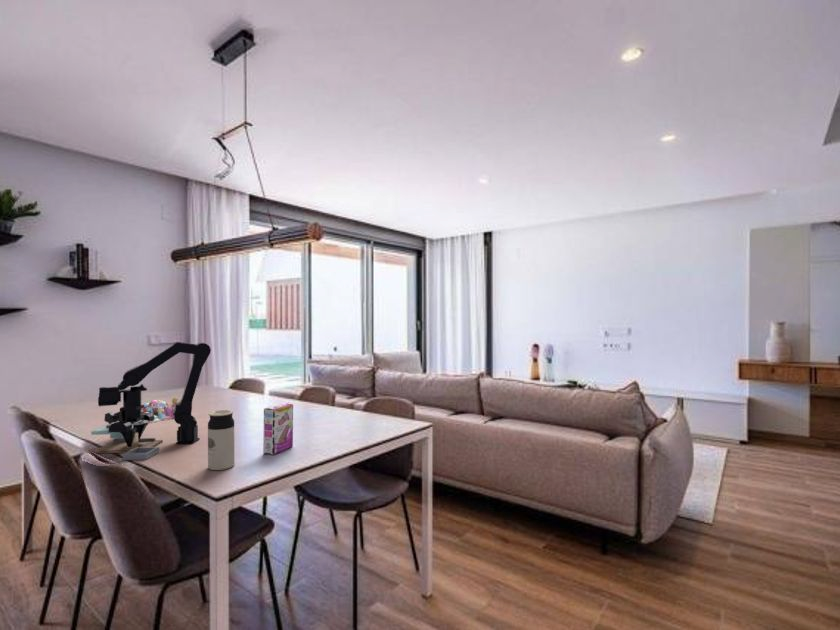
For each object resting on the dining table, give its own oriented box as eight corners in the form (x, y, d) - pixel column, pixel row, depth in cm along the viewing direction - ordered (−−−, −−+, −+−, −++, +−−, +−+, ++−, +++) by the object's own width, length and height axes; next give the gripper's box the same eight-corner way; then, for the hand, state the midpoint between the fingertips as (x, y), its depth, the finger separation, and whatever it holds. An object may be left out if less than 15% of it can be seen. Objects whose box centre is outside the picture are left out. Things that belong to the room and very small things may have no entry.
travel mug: (230, 461, 153) (229, 408, 152) (238, 467, 146) (237, 412, 146) (205, 466, 147) (204, 411, 147) (212, 472, 141) (211, 415, 141)
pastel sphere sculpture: (145, 412, 230) (145, 394, 230) (190, 412, 230) (190, 394, 230) (111, 424, 205) (111, 404, 205) (162, 424, 205) (162, 404, 205)
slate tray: (158, 452, 162) (158, 447, 162) (146, 459, 154) (146, 453, 154) (136, 452, 162) (136, 447, 162) (122, 460, 154) (122, 454, 154)
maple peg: (140, 447, 168) (140, 432, 168) (134, 450, 165) (134, 434, 165) (130, 448, 168) (130, 432, 168) (124, 450, 164) (124, 434, 164)
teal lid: (127, 437, 174) (127, 421, 174) (108, 446, 163) (108, 428, 163) (111, 437, 174) (111, 421, 174) (91, 446, 162) (91, 429, 162)
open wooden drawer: (162, 442, 175) (162, 437, 175) (144, 452, 163) (144, 446, 163) (115, 443, 174) (115, 438, 174) (93, 453, 162) (93, 447, 162)
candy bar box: (274, 455, 158) (273, 409, 158) (262, 454, 160) (262, 408, 160) (294, 446, 169) (293, 403, 169) (283, 445, 171) (282, 402, 170)
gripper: (125, 398, 175) (126, 438, 175) (92, 409, 157) (93, 453, 157) (154, 398, 176) (155, 438, 176) (125, 408, 157) (125, 452, 157)
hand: (132, 445), depth 166 cm, fingers closed on maple peg, 4 cm apart
